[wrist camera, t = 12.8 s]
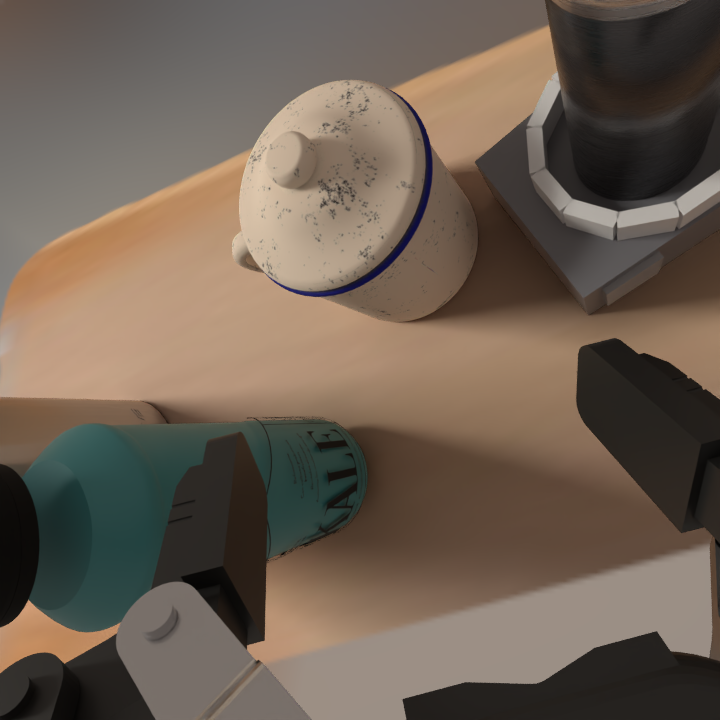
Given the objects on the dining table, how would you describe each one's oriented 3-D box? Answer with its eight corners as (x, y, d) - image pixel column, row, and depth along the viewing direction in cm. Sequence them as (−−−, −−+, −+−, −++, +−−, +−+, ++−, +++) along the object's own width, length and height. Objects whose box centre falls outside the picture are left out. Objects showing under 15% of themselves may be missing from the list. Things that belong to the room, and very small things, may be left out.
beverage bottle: (271, 463, 31) (-189, 534, 13) (340, 391, 29) (-88, 362, 11) (330, 552, 28) (-142, 787, 11) (409, 480, 26) (-2, 617, 9)
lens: (619, 228, 19) (622, -49, 8) (546, 146, 21) (457, -187, 9) (743, 140, 18) (988, -384, 6) (653, 59, 19) (710, -481, 8)
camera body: (592, 320, 23) (586, 295, 18) (494, 196, 26) (466, 146, 21) (818, 173, 20) (885, 95, 15) (677, 48, 22) (695, -52, 18)
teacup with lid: (469, 146, 27) (378, -20, 16) (498, 306, 25) (418, 233, 15) (290, 216, 32) (137, 123, 22) (305, 351, 30) (147, 321, 20)
